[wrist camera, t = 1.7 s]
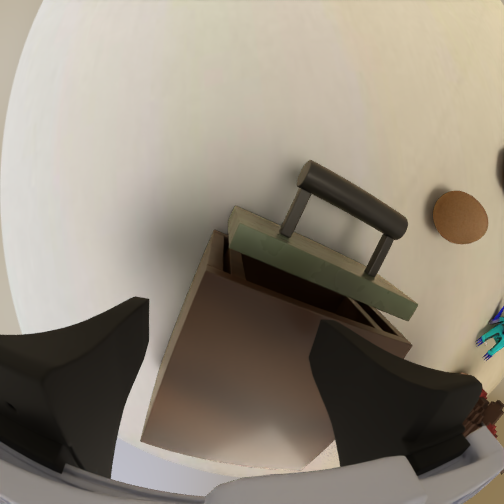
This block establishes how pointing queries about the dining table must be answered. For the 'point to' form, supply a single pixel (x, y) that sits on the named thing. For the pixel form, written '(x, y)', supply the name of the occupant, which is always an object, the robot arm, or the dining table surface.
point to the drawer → (319, 252)
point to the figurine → (494, 335)
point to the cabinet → (246, 373)
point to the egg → (460, 217)
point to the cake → (483, 416)
